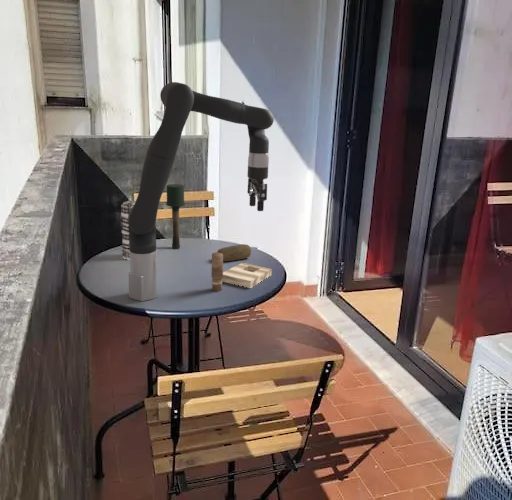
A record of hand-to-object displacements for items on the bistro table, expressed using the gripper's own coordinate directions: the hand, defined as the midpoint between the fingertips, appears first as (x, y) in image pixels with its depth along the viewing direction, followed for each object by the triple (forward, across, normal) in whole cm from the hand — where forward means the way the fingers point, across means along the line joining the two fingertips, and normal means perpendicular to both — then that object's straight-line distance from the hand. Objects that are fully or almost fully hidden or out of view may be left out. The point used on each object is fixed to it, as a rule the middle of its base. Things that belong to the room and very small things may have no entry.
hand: (256, 208), depth 184 cm
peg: (+30, -3, +16) cm, 34 cm away
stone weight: (+30, +29, -1) cm, 42 cm away
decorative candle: (+31, +43, +42) cm, 67 cm away
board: (+30, +5, +1) cm, 30 cm away
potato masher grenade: (+30, +52, +20) cm, 63 cm away
